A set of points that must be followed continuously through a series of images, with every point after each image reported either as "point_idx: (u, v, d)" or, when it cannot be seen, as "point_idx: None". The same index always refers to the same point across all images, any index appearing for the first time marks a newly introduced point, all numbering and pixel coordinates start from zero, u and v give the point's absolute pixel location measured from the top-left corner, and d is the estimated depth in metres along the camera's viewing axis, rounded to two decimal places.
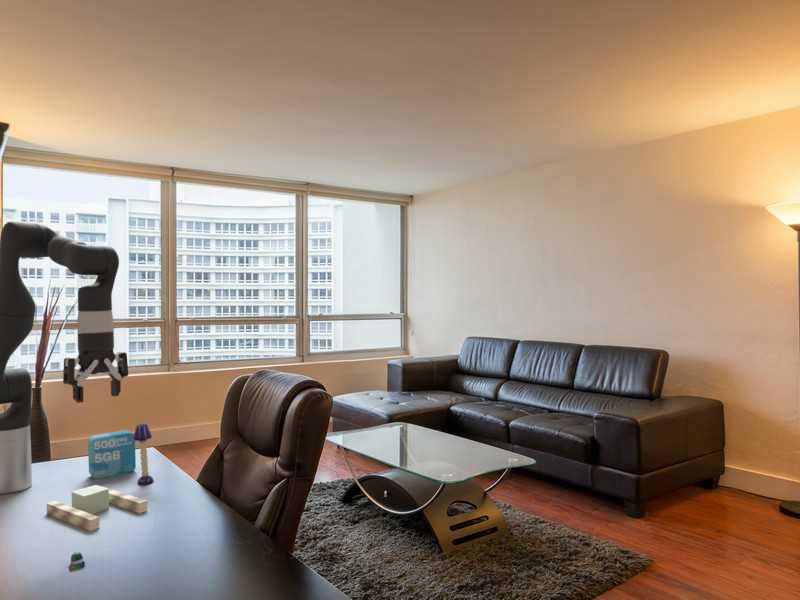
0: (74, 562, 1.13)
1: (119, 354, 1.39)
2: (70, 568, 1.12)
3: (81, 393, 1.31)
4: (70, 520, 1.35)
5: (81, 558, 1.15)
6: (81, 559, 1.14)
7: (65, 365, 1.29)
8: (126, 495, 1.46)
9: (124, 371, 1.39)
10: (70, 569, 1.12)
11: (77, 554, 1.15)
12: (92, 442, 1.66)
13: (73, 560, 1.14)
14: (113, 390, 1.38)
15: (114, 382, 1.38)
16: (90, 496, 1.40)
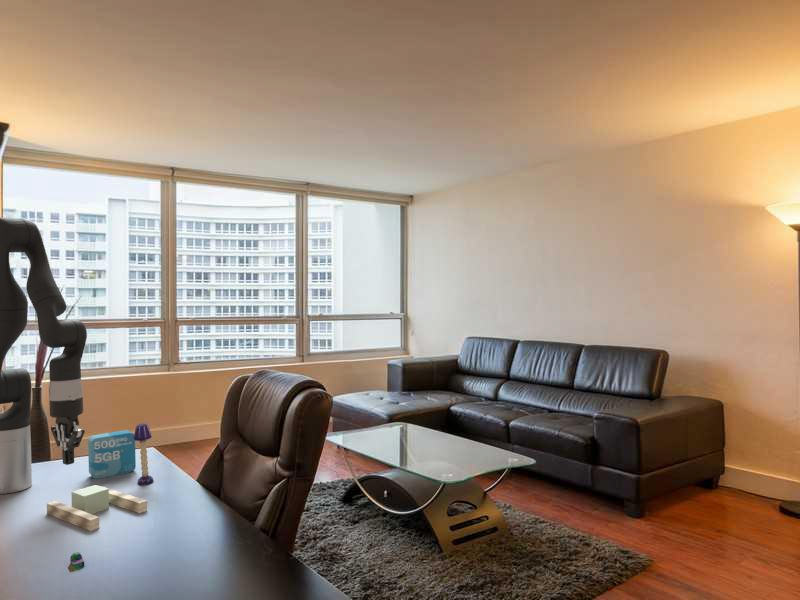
0: (73, 563, 1.13)
1: None
2: (70, 568, 1.12)
3: None
4: (70, 520, 1.35)
5: (81, 558, 1.15)
6: (81, 559, 1.14)
7: (76, 437, 1.45)
8: (126, 495, 1.46)
9: None
10: (70, 569, 1.12)
11: (77, 554, 1.15)
12: (92, 442, 1.66)
13: (73, 560, 1.14)
14: None
15: None
16: (90, 496, 1.40)
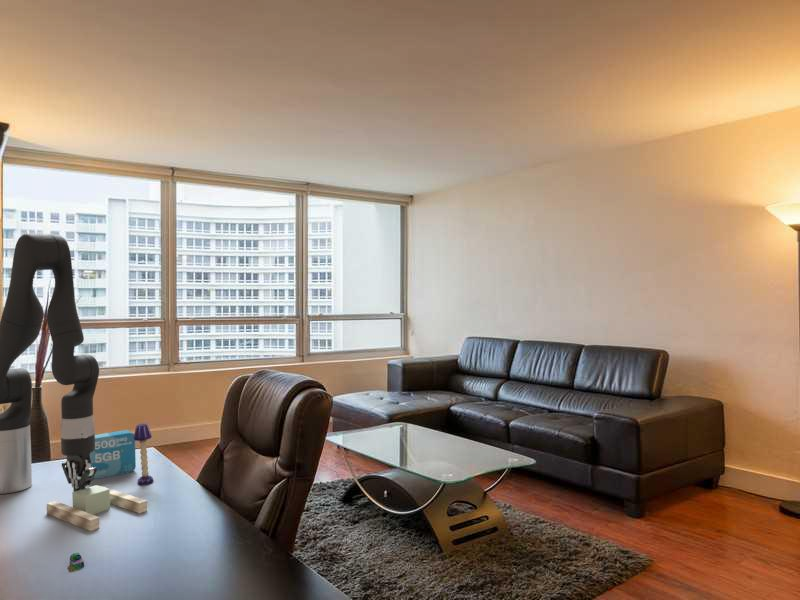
0: (73, 563, 1.13)
1: None
2: (69, 569, 1.12)
3: None
4: (70, 520, 1.35)
5: (80, 558, 1.15)
6: (80, 559, 1.14)
7: (88, 476, 1.43)
8: (126, 495, 1.46)
9: None
10: (69, 570, 1.12)
11: (76, 555, 1.15)
12: None
13: (72, 561, 1.14)
14: None
15: None
16: (91, 496, 1.40)
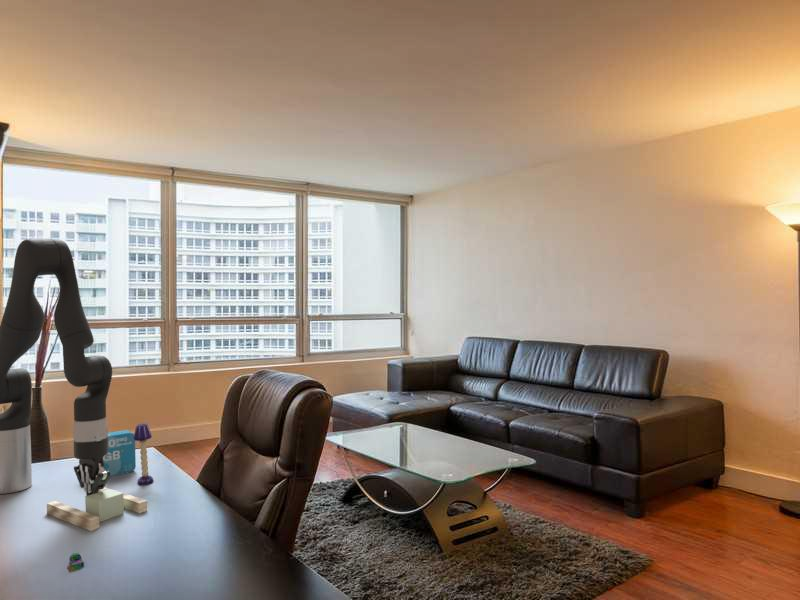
0: (73, 563, 1.13)
1: None
2: (69, 569, 1.12)
3: None
4: (70, 520, 1.35)
5: (80, 559, 1.15)
6: (80, 560, 1.14)
7: (101, 480, 1.39)
8: (126, 495, 1.46)
9: None
10: (69, 570, 1.12)
11: (76, 555, 1.15)
12: None
13: (72, 561, 1.14)
14: None
15: None
16: (104, 501, 1.37)
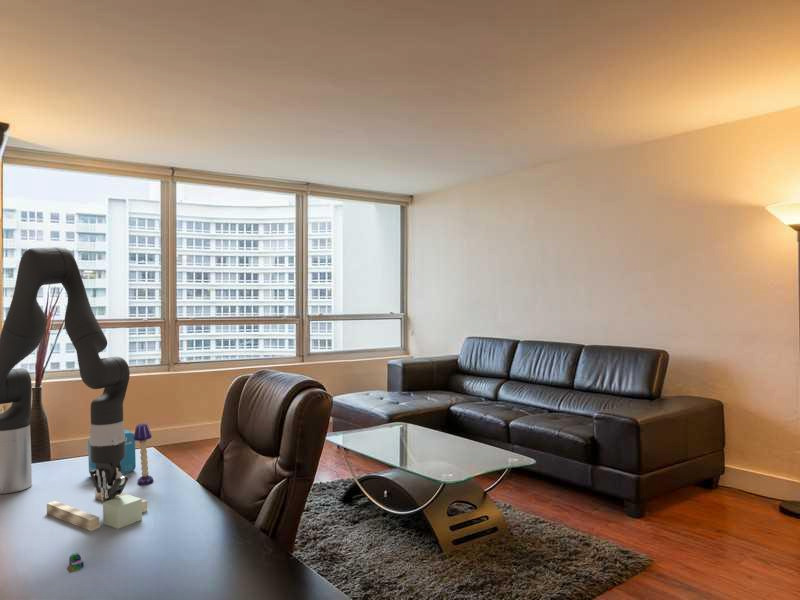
0: (73, 563, 1.13)
1: None
2: (69, 569, 1.12)
3: None
4: (70, 520, 1.35)
5: (80, 559, 1.14)
6: (80, 560, 1.14)
7: (119, 485, 1.35)
8: None
9: None
10: (69, 570, 1.12)
11: (75, 555, 1.14)
12: None
13: (72, 561, 1.14)
14: None
15: None
16: (123, 507, 1.32)
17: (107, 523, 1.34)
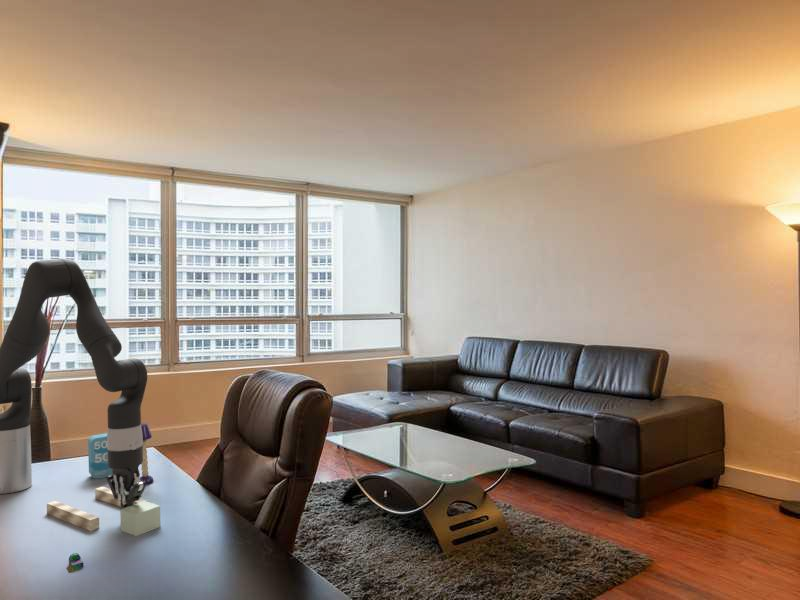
0: (72, 563, 1.13)
1: None
2: (69, 569, 1.12)
3: None
4: (70, 520, 1.35)
5: (79, 559, 1.14)
6: (79, 560, 1.14)
7: (137, 491, 1.31)
8: None
9: None
10: (69, 570, 1.12)
11: (75, 555, 1.14)
12: (92, 442, 1.66)
13: (71, 561, 1.14)
14: None
15: None
16: (141, 514, 1.28)
17: (125, 531, 1.30)
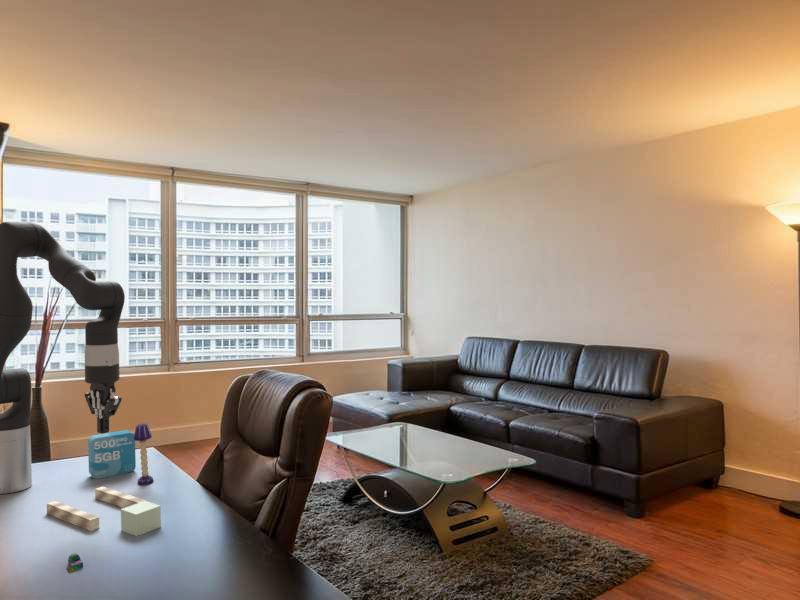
0: (72, 564, 1.12)
1: None
2: (68, 569, 1.12)
3: None
4: (70, 520, 1.35)
5: (79, 559, 1.14)
6: (79, 560, 1.14)
7: (113, 405, 1.37)
8: (126, 495, 1.46)
9: None
10: (68, 570, 1.11)
11: (75, 555, 1.14)
12: (92, 442, 1.66)
13: (71, 561, 1.13)
14: None
15: None
16: (141, 514, 1.28)
17: (125, 531, 1.30)
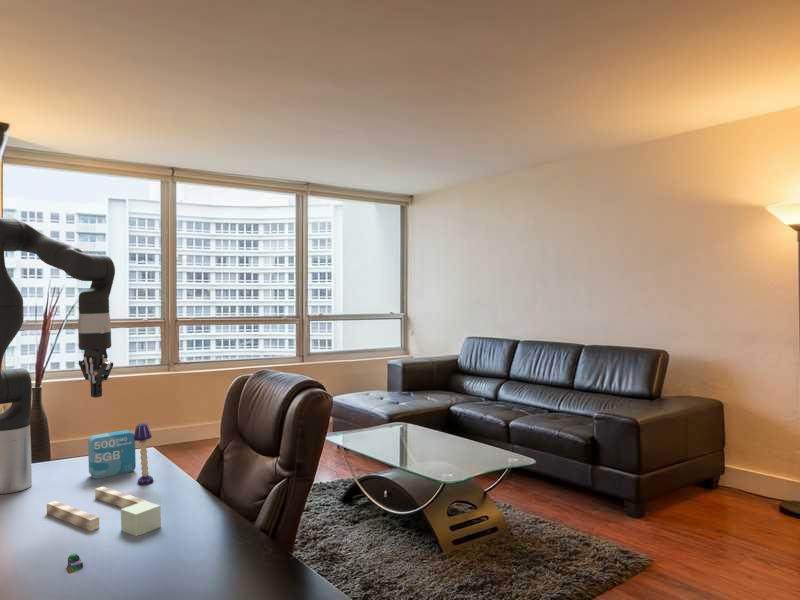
0: (72, 564, 1.12)
1: None
2: (68, 569, 1.12)
3: None
4: (70, 520, 1.35)
5: (78, 559, 1.14)
6: (79, 560, 1.14)
7: (105, 369, 1.46)
8: (126, 495, 1.46)
9: None
10: (68, 570, 1.11)
11: (74, 555, 1.14)
12: (92, 442, 1.66)
13: (70, 562, 1.13)
14: None
15: None
16: (141, 514, 1.28)
17: (125, 531, 1.30)
